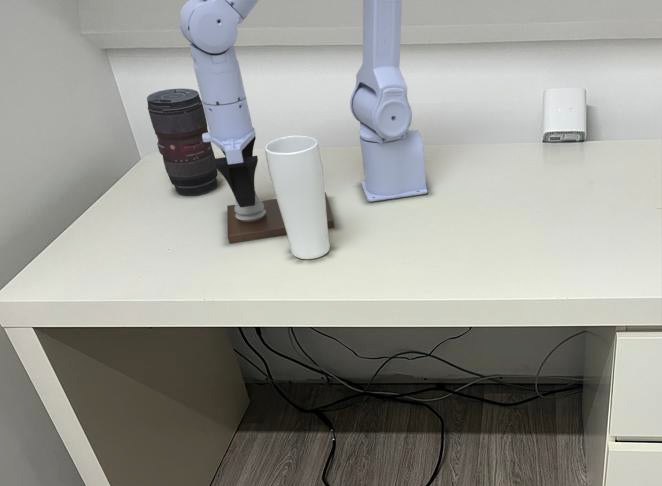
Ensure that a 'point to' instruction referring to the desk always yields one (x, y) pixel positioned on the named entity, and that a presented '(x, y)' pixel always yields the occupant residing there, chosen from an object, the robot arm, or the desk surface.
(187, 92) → the camera lens
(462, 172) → the desk surface
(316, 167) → the drinking glass
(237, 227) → the walnut board
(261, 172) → the desk surface
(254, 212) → the rook chess piece
